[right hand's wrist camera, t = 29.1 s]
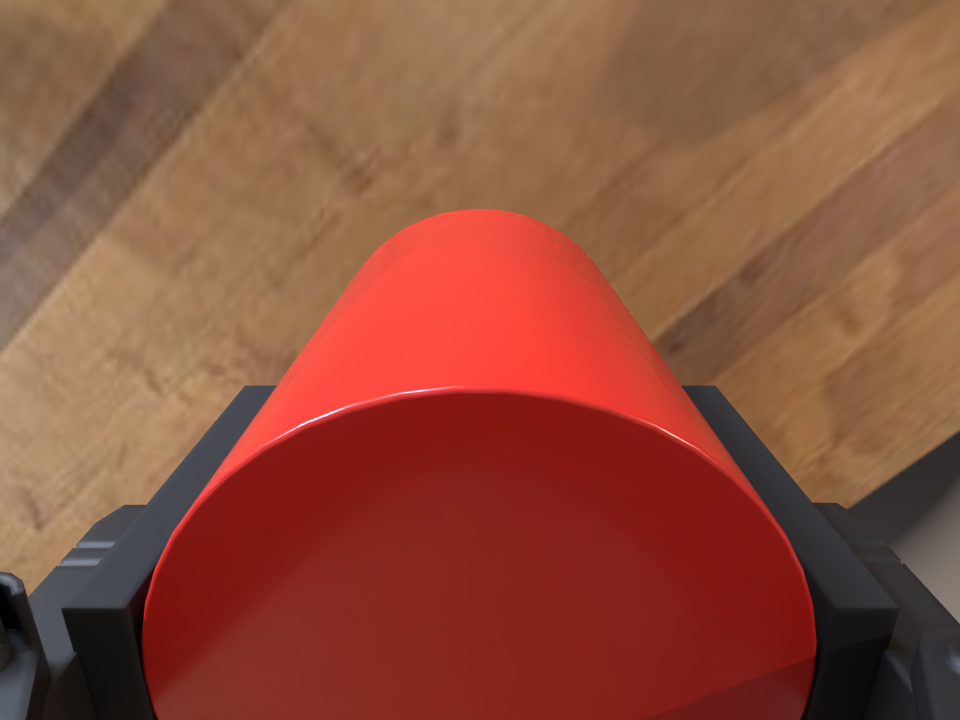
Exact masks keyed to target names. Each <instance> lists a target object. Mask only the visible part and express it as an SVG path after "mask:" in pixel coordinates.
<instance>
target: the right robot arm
mask: <svg viewBox="0 0 960 720" xmlns="http://www.w3.org/2000/svg"><path fill="white" fill-rule="evenodd" d="M276 387H277V386H244V388H243V389H242V390H241V391H240V392H239V394H238V395H237V396H236V397H235V399H234V400H233V401H232V402H231V403H230V405H229V406H228V407H227V408H226V409H225V411H224V412H223V413H222V414H221V415H220V417H219V418H218V419H217V420H216V421H215V423H214V424H213V425H212V426H211V428H210V429H209V430H208V431H207V432H206V434H205V435H204V436H203V437H202V438H201V440H200V441H199V442H198V443H197V444H196V446H195V447H194V448H193V449H192V450H191V452H190V453H189V454H188V455H187V457H186V458H185V459H184V460H183V461H182V463H181V464H180V465H179V466H178V467H177V469H176V470H175V471H174V472H173V473H172V475H171V476H170V477H169V478H168V479H167V481H166V482H165V483H164V484H163V486H162V487H161V488H160V489H159V490H158V492H157V493H156V494H155V495H154V496H153V498H152V499H151V500H150V501H149V502H148V504H147V505H124V506H122V507H121V508H119V509H117V510H116V511H114V512H113V513H111V514H109V515H108V516H106V517H105V518H103V519H101V520H100V521H98V522H97V523H95V525H94V526H93V527H92V528H91V529H90V530H89V531H88V532H87V533H86V534H85V536H84V537H83V538H82V539H81V540H80V541H79V542H78V543H77V547H76V548H73V549H72V550H71V551H70V552H69V553H68V554H67V555H66V556H65V557H64V559H63V560H62V561H61V565H60V566H56V567H55V568H54V570H53V571H52V572H51V573H50V574H49V575H48V576H47V577H46V578H45V579H44V581H43V582H42V583H41V584H40V585H39V586H38V587H37V588H36V589H35V590H34V591H33V593H32V594H31V595H30V596H29V597H27V594H26V591H25V588H24V584H23V581H22V580H21V579H19V578H18V577H16V576H15V575H13V574H12V573H5V572H0V720H157V719H156V717H155V714H154V712H153V709H152V707H151V703H150V699H149V695H148V691H147V687H146V682H145V678H144V673H143V659H142V645H141V637H142V627H143V618H144V609H145V601H146V598H147V594H148V591H149V587H150V584H151V580H152V577H153V574H154V570H155V567H156V565H157V563H158V561H159V559H160V557H161V555H162V553H163V551H164V549H165V547H166V545H167V543H168V541H169V539H170V537H171V534H172V533H173V531H174V530H175V529H176V527H177V526H178V524H179V523H180V522H181V520H182V519H183V517H184V516H185V515H186V513H187V512H188V510H189V509H190V508H191V506H192V505H193V503H194V502H195V500H196V499H197V498H198V496H199V495H200V493H201V492H202V491H203V489H204V488H205V486H206V485H207V484H208V482H209V481H210V479H211V478H212V477H213V475H214V474H215V472H216V471H217V470H218V468H219V467H220V465H221V464H222V463H223V461H224V460H225V458H226V457H227V456H228V454H229V453H230V451H231V450H232V449H233V447H234V446H235V444H236V443H237V442H238V440H239V439H240V437H241V436H242V435H243V433H244V432H245V430H246V429H247V427H248V426H249V425H250V423H251V422H252V420H253V419H254V418H255V416H256V415H257V413H258V412H259V411H260V409H261V408H262V406H263V405H264V404H265V402H266V401H267V399H268V398H269V397H270V395H271V394H272V392H273V391H274V390H275V388H276ZM682 388H683V389H684V390H685V392H686V393H687V395H688V396H689V397H690V399H691V400H692V402H693V403H694V405H695V406H696V407H697V409H698V410H699V412H700V413H701V414H702V416H703V417H704V419H705V420H706V422H707V423H708V424H709V426H710V427H711V429H712V430H713V431H714V433H715V434H716V436H717V437H718V439H719V440H720V441H721V443H722V444H723V446H724V447H725V448H726V450H727V451H728V453H729V454H730V456H731V457H732V458H733V460H734V461H735V463H736V464H737V465H738V467H739V468H740V470H741V471H742V472H743V474H744V475H745V477H746V478H747V480H748V481H749V482H750V484H751V485H752V487H753V488H754V489H755V491H756V492H757V494H758V495H759V497H760V498H761V499H762V501H763V502H764V504H765V505H766V506H767V508H768V509H769V511H770V512H771V514H772V515H773V516H774V518H775V519H776V521H777V522H778V523H779V525H780V526H781V528H782V529H783V531H784V532H785V533H786V535H787V537H788V539H789V541H790V543H791V545H792V547H793V549H794V551H795V553H796V555H797V557H798V560H799V562H800V564H801V566H802V568H803V571H804V574H805V578H806V581H807V585H808V588H809V592H810V595H811V599H812V602H813V609H814V619H815V629H816V639H817V645H816V658H815V671H814V679H813V683H812V687H811V691H810V695H809V699H808V703H807V707H806V710H805V712H804V714H803V717H802V719H801V720H960V624H959V623H958V622H957V620H956V619H955V618H954V617H953V616H952V615H951V614H950V613H949V612H948V611H947V610H946V608H945V607H944V606H943V605H942V604H941V603H940V602H939V601H938V600H937V599H936V598H935V597H934V595H933V594H932V593H931V592H930V591H929V590H928V589H927V588H926V587H925V586H924V585H923V584H922V582H921V581H920V580H919V579H918V578H917V577H916V576H915V575H914V574H913V573H912V571H911V570H910V569H909V568H908V567H907V566H906V565H905V564H901V562H900V558H899V557H898V556H897V555H896V554H895V553H894V552H893V551H892V550H891V549H890V548H889V546H885V545H884V541H883V540H882V539H881V538H880V537H879V536H878V534H877V533H876V532H875V531H874V530H873V529H872V528H871V527H870V526H869V525H868V524H867V522H866V521H864V520H863V519H861V518H860V517H858V516H856V515H855V514H853V513H852V512H850V511H848V510H847V509H845V508H844V507H842V506H841V505H839V504H837V503H812V502H811V501H810V499H809V498H808V497H807V496H806V495H805V493H804V492H803V491H802V490H801V489H800V487H799V486H798V485H797V484H796V483H795V481H794V480H793V479H792V478H791V477H790V475H789V474H788V473H787V472H786V470H785V469H784V468H783V467H782V466H781V464H780V463H779V462H778V461H777V460H776V458H775V457H774V456H773V455H772V454H771V452H770V451H769V450H768V449H767V448H766V446H765V445H764V444H763V443H762V441H761V440H760V439H759V438H758V437H757V435H756V434H755V433H754V432H753V431H752V429H751V428H750V427H749V426H748V425H747V423H746V422H745V421H744V420H743V419H742V417H741V416H740V415H739V414H738V412H737V411H736V410H735V409H734V408H733V406H732V405H731V404H730V403H729V402H728V400H727V399H726V398H725V397H724V396H723V394H722V393H721V392H720V391H719V390H718V388H717V387H716V386H682Z"/></svg>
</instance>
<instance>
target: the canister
mask: <svg viewBox="0 0 960 720" xmlns="http://www.w3.org/2000/svg"><path fill="white" fill-rule="evenodd" d="M141 645H142V659H143V673H144V678H145V682H146V687H147V691H148V695H149V699H150V703H151V707H152V709H153V712H154V714H155V717H156V719H157V720H801V719H802V717H803V714H804V712H805V710H806V707H807V703H808V699H809V695H810V691H811V687H812V683H813V679H814V671H815V658H816V645H817V639H816V629H815V619H814V609H813V602H812V599H811V595H810V592H809V588H808V585H807V581H806V578H805V574H804V571H803V568H802V566H801V564H800V562H799V560H798V557H797V555H796V553H795V551H794V549H793V547H792V545H791V543H790V541H789V539H788V537H787V535H786V533H785V532H784V531H783V529H782V528H781V526H780V525H779V523H778V522H777V521H776V519H775V518H774V516H773V515H772V514H771V512H770V511H769V509H768V508H767V506H766V505H765V504H764V502H763V501H762V499H761V498H760V497H759V495H758V494H757V492H756V491H755V489H754V488H753V487H752V485H751V484H750V482H749V481H748V480H747V478H746V477H745V475H744V474H743V472H742V471H741V470H740V468H739V467H738V465H737V464H736V463H735V461H734V460H733V458H732V457H731V456H730V454H729V453H728V451H727V450H726V448H725V447H724V446H723V444H722V443H721V441H720V440H719V439H718V437H717V436H716V434H715V433H714V431H713V430H712V429H711V427H710V426H709V424H708V423H707V422H706V420H705V419H704V417H703V416H702V414H701V413H700V412H699V410H698V409H697V407H696V406H695V405H694V403H693V402H692V400H691V399H690V397H689V396H688V395H687V393H686V392H685V390H684V389H683V388H682V386H681V385H680V383H679V382H678V381H677V379H676V378H675V376H674V375H673V373H672V372H671V371H670V369H669V368H668V366H667V365H666V364H665V362H664V361H663V359H662V358H661V356H660V355H659V354H658V352H657V351H656V349H655V348H654V347H653V345H652V344H651V342H650V341H649V339H648V338H647V337H646V335H645V334H644V332H643V331H642V330H641V328H640V327H639V325H638V324H637V322H636V321H635V320H634V318H633V317H632V315H631V314H630V313H629V311H628V310H627V308H626V307H625V306H624V304H623V303H622V301H621V300H620V298H619V297H618V296H617V294H616V293H615V291H614V290H613V289H612V287H611V286H610V284H609V283H608V281H607V280H606V279H605V277H604V276H603V274H602V273H601V272H600V270H599V269H598V267H597V266H596V265H595V263H594V262H593V261H592V259H591V258H590V257H589V256H588V255H587V254H586V253H585V252H584V251H583V250H582V249H581V248H580V247H579V246H578V245H576V244H575V243H574V242H573V241H571V240H570V239H569V238H568V237H566V236H565V235H564V234H562V233H560V232H559V231H557V230H555V229H554V228H552V227H550V226H549V225H546V224H544V223H542V222H539V221H537V220H535V219H532V218H530V217H527V216H523V215H519V214H516V213H512V212H507V211H500V210H492V209H467V210H460V211H452V212H447V213H443V214H440V215H436V216H432V217H429V218H427V219H424V220H422V221H420V222H417V223H415V224H413V225H411V226H409V227H407V228H406V229H404V230H402V231H400V232H399V233H397V234H395V235H394V236H393V237H391V238H390V239H389V240H388V241H386V242H385V243H384V244H383V245H381V246H380V247H379V248H378V249H377V250H376V251H375V252H374V253H373V254H372V255H371V256H370V257H369V259H368V260H367V261H366V262H365V263H364V265H363V266H362V268H361V269H360V270H359V272H358V273H357V275H356V276H355V277H354V279H353V280H352V282H351V283H350V284H349V286H348V287H347V289H346V290H345V291H344V293H343V294H342V296H341V297H340V298H339V300H338V301H337V303H336V304H335V305H334V307H333V308H332V310H331V311H330V312H329V314H328V315H327V317H326V318H325V319H324V321H323V322H322V324H321V325H320V326H319V328H318V329H317V331H316V332H315V333H314V335H313V336H312V338H311V339H310V340H309V342H308V343H307V345H306V346H305V347H304V349H303V350H302V352H301V353H300V355H299V356H298V357H297V359H296V360H295V362H294V363H293V364H292V366H291V367H290V369H289V370H288V371H287V373H286V374H285V376H284V377H283V378H282V380H281V381H280V383H279V384H278V385H277V387H276V388H275V390H274V391H273V392H272V394H271V395H270V397H269V398H268V399H267V401H266V402H265V404H264V405H263V406H262V408H261V409H260V411H259V412H258V413H257V415H256V416H255V418H254V419H253V420H252V422H251V423H250V425H249V426H248V427H247V429H246V430H245V432H244V433H243V435H242V436H241V437H240V439H239V440H238V442H237V443H236V444H235V446H234V447H233V449H232V450H231V451H230V453H229V454H228V456H227V457H226V458H225V460H224V461H223V463H222V464H221V465H220V467H219V468H218V470H217V471H216V472H215V474H214V475H213V477H212V478H211V479H210V481H209V482H208V484H207V485H206V486H205V488H204V489H203V491H202V492H201V493H200V495H199V496H198V498H197V499H196V500H195V502H194V503H193V505H192V506H191V508H190V509H189V510H188V512H187V513H186V515H185V516H184V517H183V519H182V520H181V522H180V523H179V524H178V526H177V527H176V529H175V530H174V531H173V533H172V534H171V537H170V539H169V541H168V543H167V545H166V547H165V549H164V551H163V553H162V555H161V557H160V559H159V561H158V563H157V565H156V567H155V570H154V574H153V577H152V580H151V584H150V587H149V591H148V594H147V598H146V601H145V609H144V618H143V627H142V637H141Z"/></svg>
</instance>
